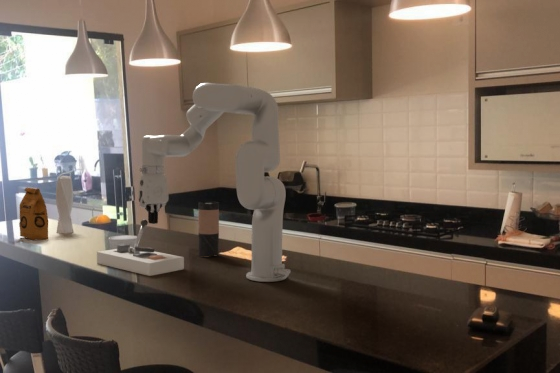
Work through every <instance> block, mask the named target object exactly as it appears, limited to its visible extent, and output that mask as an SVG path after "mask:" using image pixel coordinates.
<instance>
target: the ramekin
mask: <svg viewBox="0 0 560 373" xmlns="http://www.w3.org/2000/svg"><path fill="white" fill-rule="evenodd" d="M137 236H138V235H129V234H128V235H126V234H125V235H123V234H121V235H114V236H109V237H108V239H107V240H108V242H109V250H113V249H117V245H118V244H130V247H134V244H135V241H136V239H137Z"/></svg>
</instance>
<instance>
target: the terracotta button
mask: <svg viewBox="0 0 560 373" xmlns="http://www.w3.org/2000/svg"><path fill="white" fill-rule="evenodd" d="M150 259H152V260H159V259H163V255H151V256H150Z"/></svg>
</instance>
